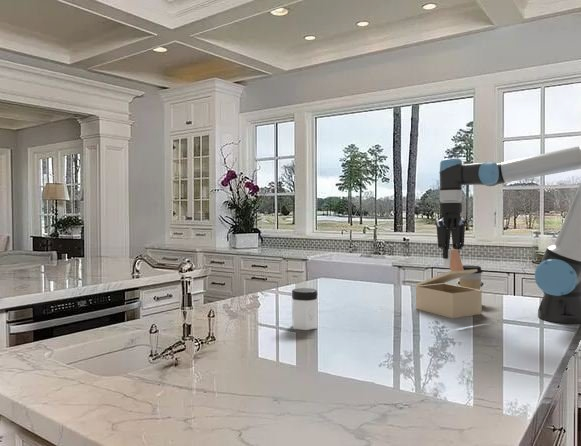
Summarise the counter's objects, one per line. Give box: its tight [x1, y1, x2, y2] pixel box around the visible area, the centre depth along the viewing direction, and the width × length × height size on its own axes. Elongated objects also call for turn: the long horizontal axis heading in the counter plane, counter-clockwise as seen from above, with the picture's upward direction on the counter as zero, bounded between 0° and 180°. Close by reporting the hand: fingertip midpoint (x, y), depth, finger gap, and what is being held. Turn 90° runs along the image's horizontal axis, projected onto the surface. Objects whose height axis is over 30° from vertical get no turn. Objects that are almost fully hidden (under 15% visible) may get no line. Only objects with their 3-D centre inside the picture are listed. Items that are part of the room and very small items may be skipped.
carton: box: [415, 282, 483, 319], centre depth 178 cm, size 18×14×9 cm
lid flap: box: [416, 249, 477, 286], centre depth 180 cm, size 17×14×9 cm
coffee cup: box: [458, 264, 483, 290], centre depth 193 cm, size 9×9×15 cm
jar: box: [291, 287, 319, 331], centre depth 158 cm, size 9×8×12 cm
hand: (451, 267), depth 177 cm, fingers closed on lid flap, 3 cm apart
